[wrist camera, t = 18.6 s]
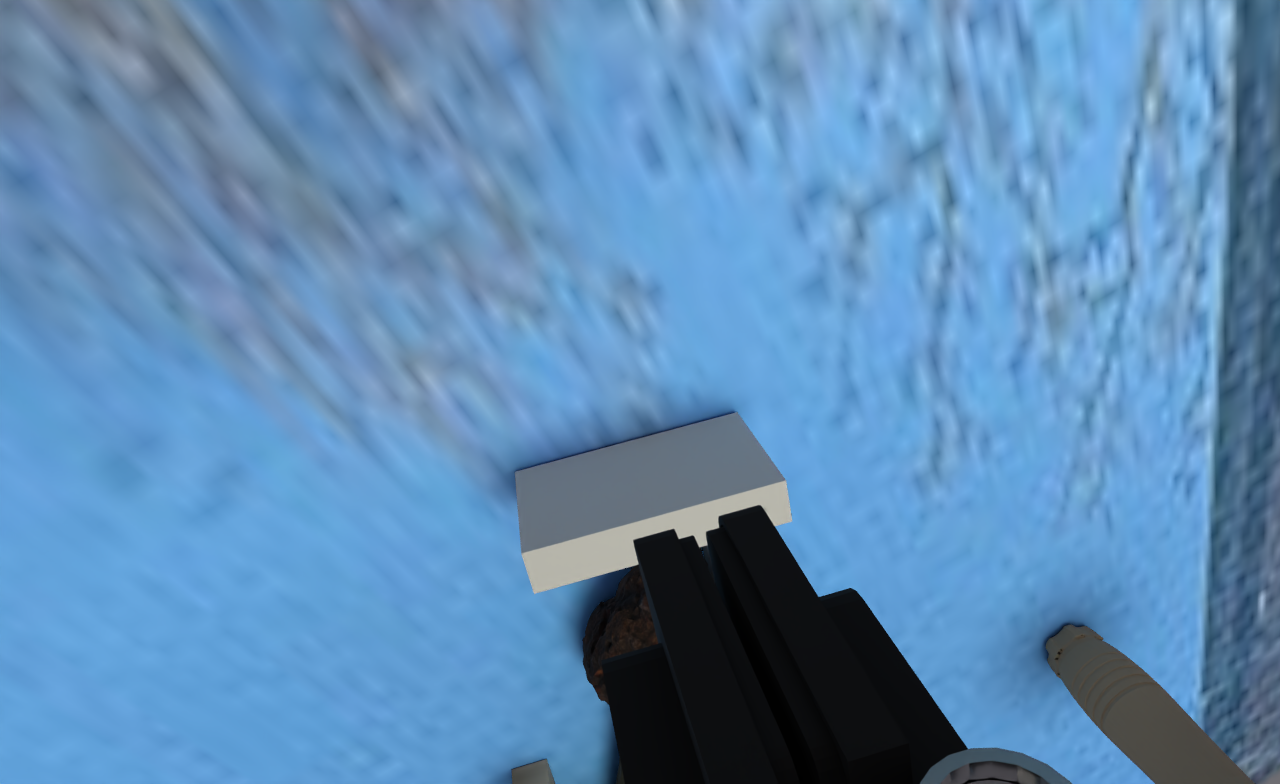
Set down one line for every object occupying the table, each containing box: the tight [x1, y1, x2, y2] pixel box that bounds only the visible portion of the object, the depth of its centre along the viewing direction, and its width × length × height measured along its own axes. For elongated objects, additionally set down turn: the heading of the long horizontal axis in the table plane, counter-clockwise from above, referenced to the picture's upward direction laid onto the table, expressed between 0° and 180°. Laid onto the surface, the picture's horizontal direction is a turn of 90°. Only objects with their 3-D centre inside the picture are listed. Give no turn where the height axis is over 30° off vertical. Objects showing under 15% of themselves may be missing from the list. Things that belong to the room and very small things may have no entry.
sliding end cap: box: [515, 412, 792, 594], centre depth 38 cm, size 11×9×7 cm
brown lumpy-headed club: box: [583, 547, 708, 784], centre depth 43 cm, size 18×7×6 cm, turn 177°
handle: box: [1046, 625, 1255, 784], centre depth 43 cm, size 5×6×15 cm
